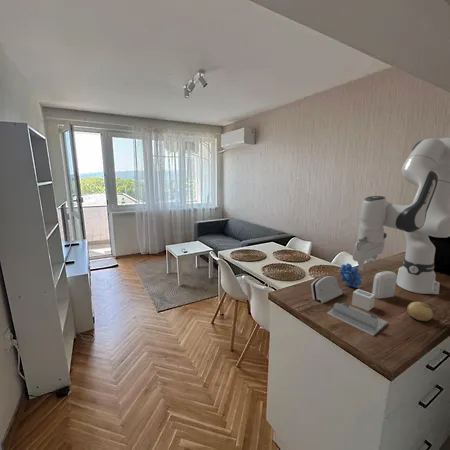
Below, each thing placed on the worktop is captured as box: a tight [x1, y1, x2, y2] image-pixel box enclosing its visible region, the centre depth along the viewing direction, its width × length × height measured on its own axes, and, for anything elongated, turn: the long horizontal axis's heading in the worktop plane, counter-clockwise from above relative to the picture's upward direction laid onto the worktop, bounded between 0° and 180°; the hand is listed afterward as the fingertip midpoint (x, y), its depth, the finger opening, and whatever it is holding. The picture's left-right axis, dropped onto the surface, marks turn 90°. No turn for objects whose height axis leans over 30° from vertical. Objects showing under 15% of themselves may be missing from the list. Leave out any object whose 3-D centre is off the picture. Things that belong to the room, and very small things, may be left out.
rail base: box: [327, 302, 389, 337], centre depth 98 cm, size 12×18×4 cm, turn 37°
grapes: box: [338, 263, 363, 289], centre depth 124 cm, size 12×7×12 cm, turn 34°
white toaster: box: [310, 275, 343, 304], centre depth 116 cm, size 17×5×10 cm, turn 123°
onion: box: [406, 301, 434, 322], centre depth 97 cm, size 8×8×7 cm
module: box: [351, 288, 376, 312], centre depth 107 cm, size 5×7×6 cm
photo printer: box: [371, 270, 398, 299], centre depth 114 cm, size 10×4×12 cm, turn 103°
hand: (366, 267), depth 103 cm, fingers open, 8 cm apart
